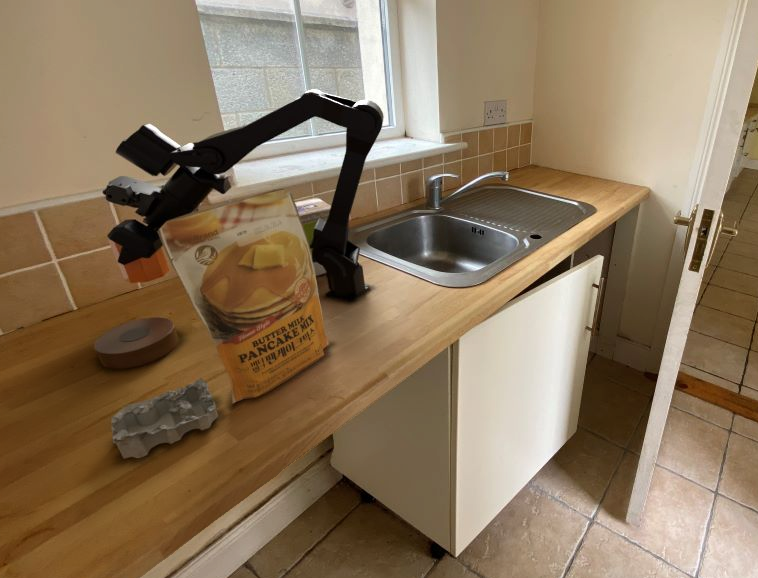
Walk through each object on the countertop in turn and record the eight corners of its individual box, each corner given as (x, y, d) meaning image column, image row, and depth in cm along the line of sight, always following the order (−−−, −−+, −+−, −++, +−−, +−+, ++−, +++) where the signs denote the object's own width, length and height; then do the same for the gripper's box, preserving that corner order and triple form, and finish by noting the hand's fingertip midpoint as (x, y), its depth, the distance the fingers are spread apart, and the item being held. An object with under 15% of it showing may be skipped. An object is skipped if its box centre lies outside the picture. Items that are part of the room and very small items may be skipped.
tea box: (329, 253, 109) (319, 195, 102) (347, 268, 103) (337, 207, 96) (261, 272, 99) (245, 209, 93) (276, 289, 93) (260, 223, 86)
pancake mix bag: (204, 398, 65) (140, 218, 53) (318, 333, 80) (288, 182, 68) (232, 417, 62) (170, 231, 50) (344, 345, 77) (317, 190, 65)
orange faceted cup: (174, 272, 83) (160, 232, 79) (136, 286, 78) (119, 244, 75) (158, 264, 85) (143, 225, 82) (119, 277, 81) (102, 236, 77)
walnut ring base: (193, 338, 77) (188, 323, 76) (132, 374, 69) (125, 359, 67) (149, 327, 80) (143, 312, 78) (84, 361, 71) (77, 345, 70)
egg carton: (120, 468, 54) (107, 444, 52) (117, 430, 59) (105, 407, 57) (222, 424, 61) (214, 402, 59) (212, 394, 66) (204, 372, 64)
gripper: (160, 149, 82) (110, 208, 84) (99, 177, 65) (40, 250, 68) (220, 189, 87) (172, 244, 89) (178, 224, 71) (120, 290, 73)
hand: (130, 255), depth 80 cm, fingers closed on orange faceted cup, 6 cm apart
